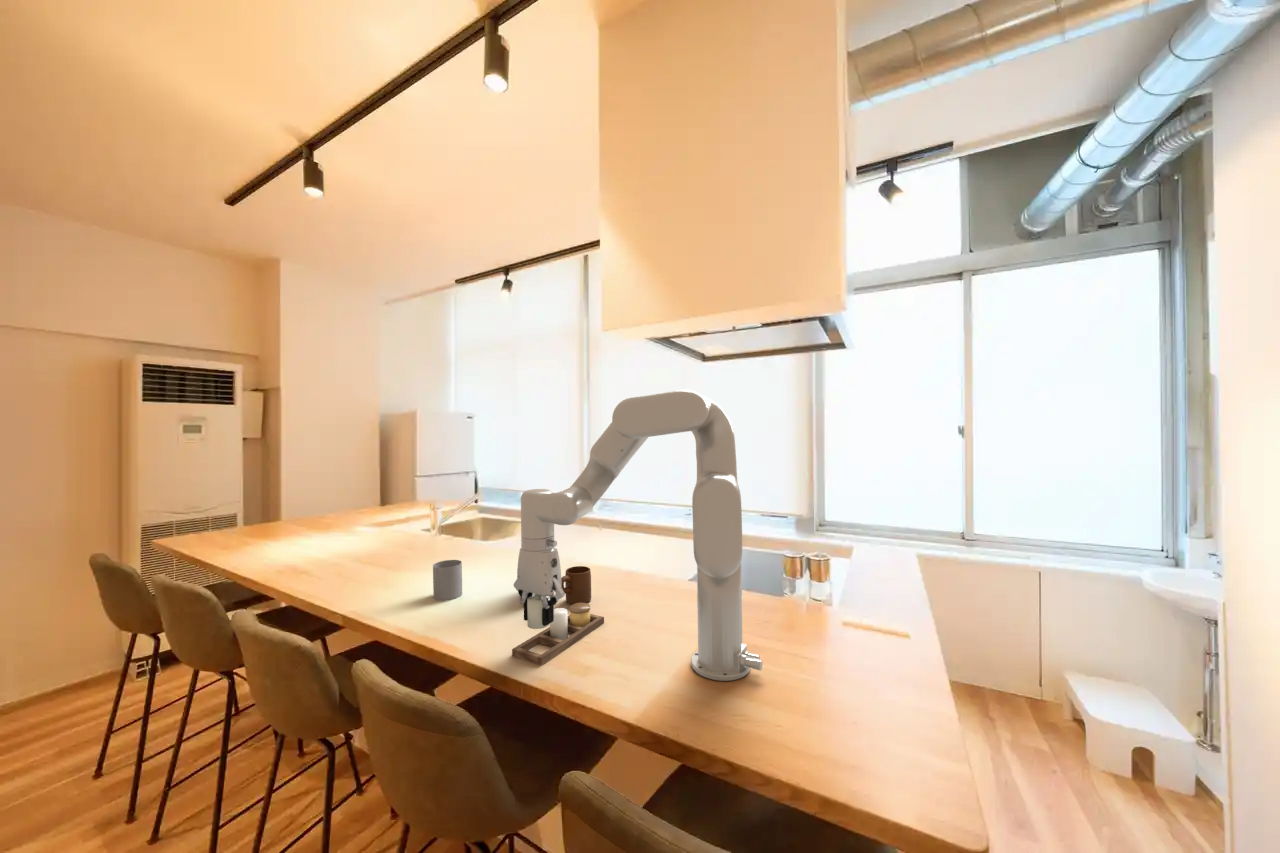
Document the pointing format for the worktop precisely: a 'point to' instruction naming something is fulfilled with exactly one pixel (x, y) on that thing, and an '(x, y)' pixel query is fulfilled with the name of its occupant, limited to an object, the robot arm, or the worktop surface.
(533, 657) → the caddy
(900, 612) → the worktop surface
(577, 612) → the honey jar
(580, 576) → the mug
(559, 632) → the cylinder
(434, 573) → the cup
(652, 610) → the worktop surface
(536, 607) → the sugar pot
